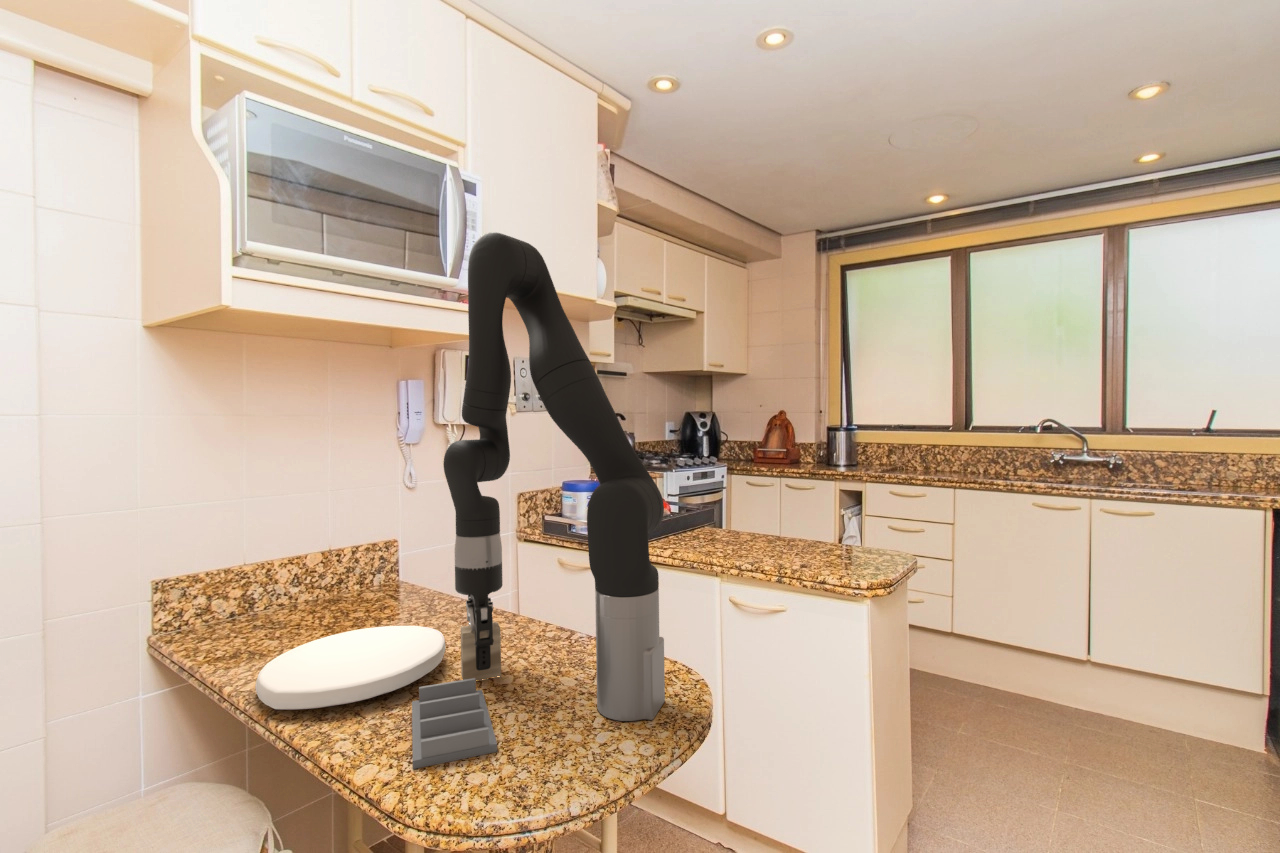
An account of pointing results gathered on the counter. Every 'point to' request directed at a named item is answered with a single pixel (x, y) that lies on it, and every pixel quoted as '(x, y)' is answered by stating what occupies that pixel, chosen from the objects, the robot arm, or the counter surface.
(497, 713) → the counter surface
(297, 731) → the counter surface
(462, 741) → the rack
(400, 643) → the plate
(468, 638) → the block
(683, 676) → the counter surface
